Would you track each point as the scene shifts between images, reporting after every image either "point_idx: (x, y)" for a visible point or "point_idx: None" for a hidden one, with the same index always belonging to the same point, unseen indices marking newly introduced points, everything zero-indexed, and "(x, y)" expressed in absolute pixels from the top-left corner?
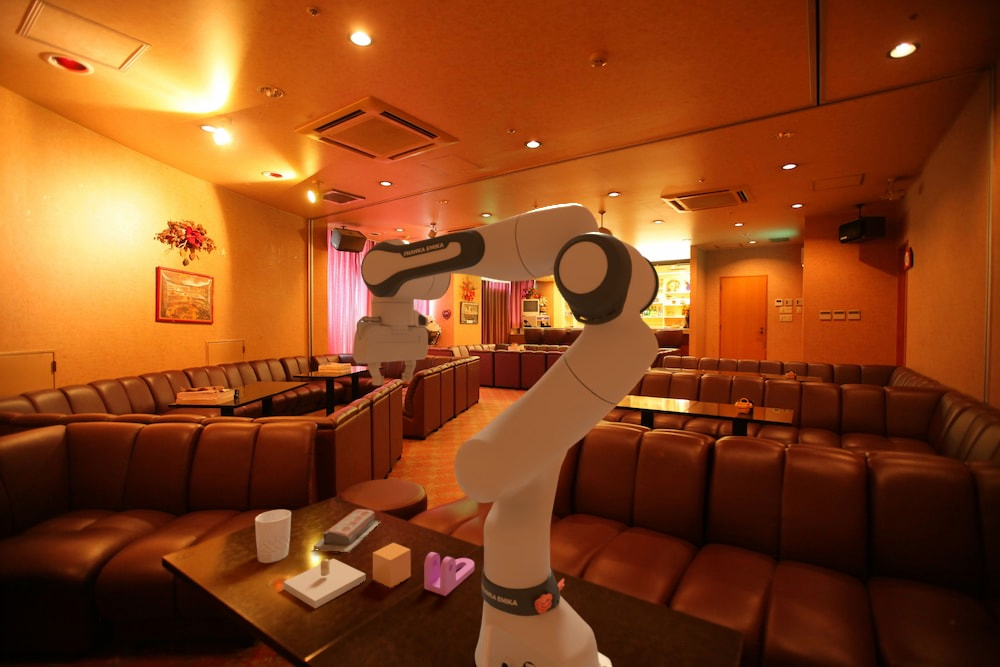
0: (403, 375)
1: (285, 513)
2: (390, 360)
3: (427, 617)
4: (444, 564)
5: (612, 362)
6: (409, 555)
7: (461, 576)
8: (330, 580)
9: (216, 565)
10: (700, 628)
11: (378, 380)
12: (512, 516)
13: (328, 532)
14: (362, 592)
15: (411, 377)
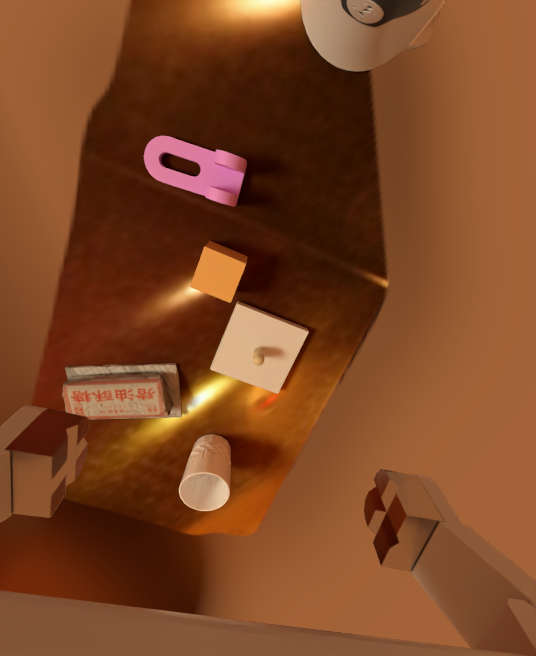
0: (62, 487)
1: (182, 485)
2: (452, 654)
3: (300, 172)
4: (241, 162)
5: None
6: (208, 246)
7: (203, 148)
8: (263, 340)
9: (248, 491)
10: None
11: (443, 502)
12: None
13: (166, 410)
14: (264, 290)
15: (30, 418)
